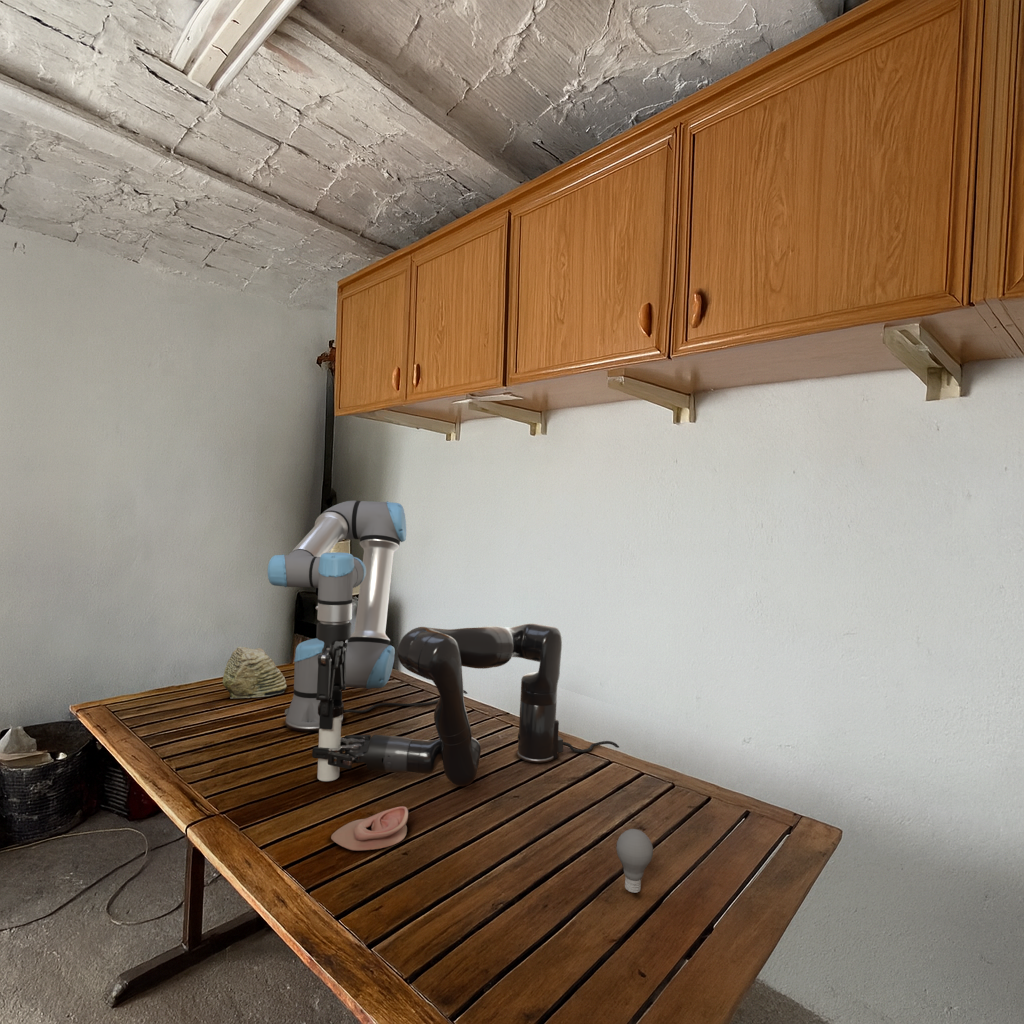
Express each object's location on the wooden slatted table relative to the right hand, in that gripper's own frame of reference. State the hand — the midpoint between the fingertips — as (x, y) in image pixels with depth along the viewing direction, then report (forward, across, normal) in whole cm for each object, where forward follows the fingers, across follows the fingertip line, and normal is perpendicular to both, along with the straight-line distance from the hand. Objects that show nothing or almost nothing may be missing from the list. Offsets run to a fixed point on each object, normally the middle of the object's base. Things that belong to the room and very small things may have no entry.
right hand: (318, 747), depth 144 cm
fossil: (+42, -50, +6) cm, 66 cm away
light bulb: (-68, +31, +6) cm, 75 cm away
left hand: (-3, 0, -6) cm, 6 cm away
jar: (-3, 0, +6) cm, 7 cm away
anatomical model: (-20, +23, +6) cm, 31 cm away
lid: (-3, 0, -10) cm, 10 cm away
